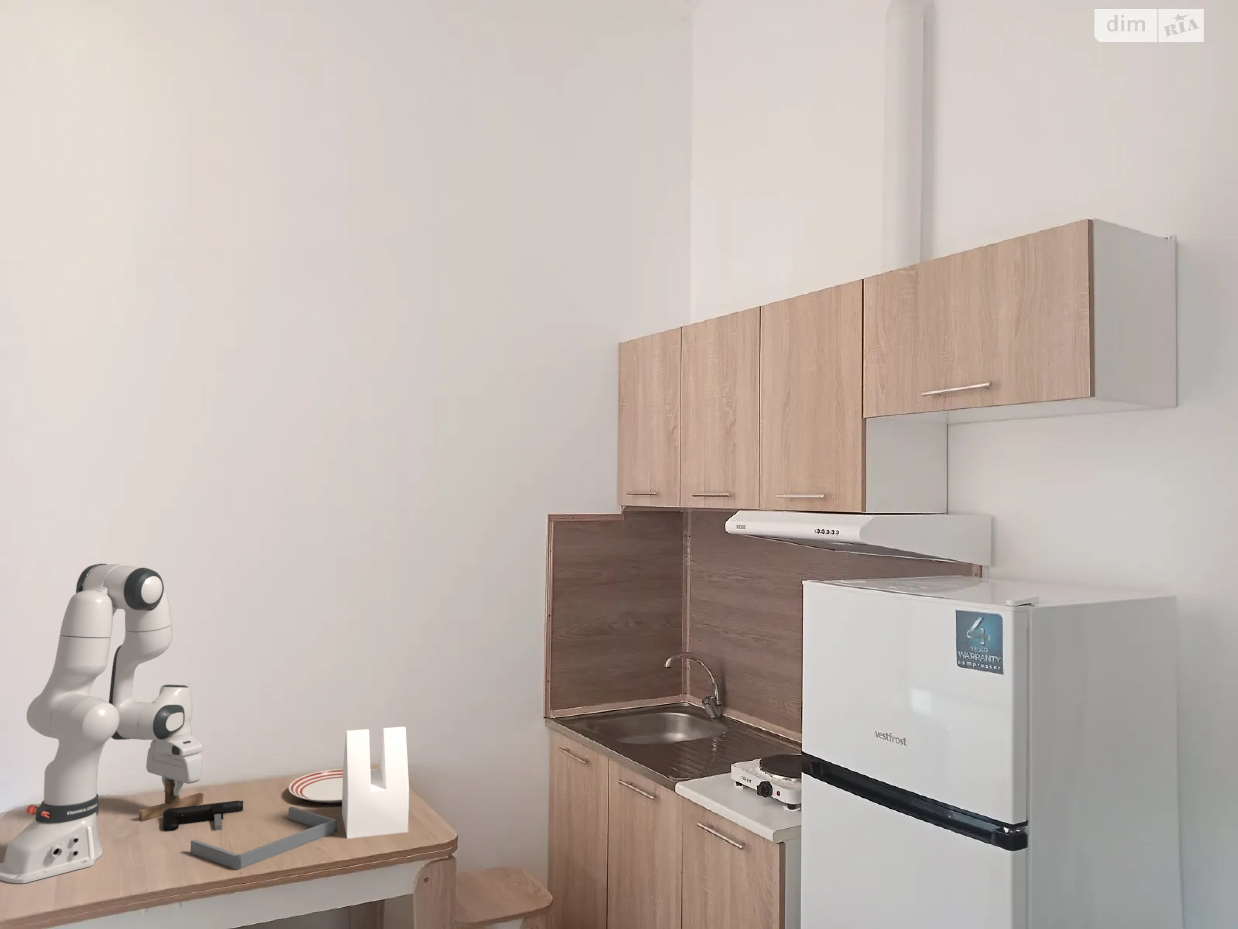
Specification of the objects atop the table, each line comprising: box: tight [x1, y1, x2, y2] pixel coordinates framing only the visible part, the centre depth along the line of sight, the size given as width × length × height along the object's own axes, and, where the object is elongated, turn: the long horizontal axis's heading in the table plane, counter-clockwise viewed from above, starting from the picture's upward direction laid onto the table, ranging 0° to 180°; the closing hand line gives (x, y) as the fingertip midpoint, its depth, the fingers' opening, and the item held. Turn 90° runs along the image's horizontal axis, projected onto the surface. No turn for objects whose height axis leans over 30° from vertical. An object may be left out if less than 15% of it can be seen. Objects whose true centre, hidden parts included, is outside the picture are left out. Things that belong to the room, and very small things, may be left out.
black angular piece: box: [162, 800, 244, 832], centre depth 253 cm, size 3×20×16 cm
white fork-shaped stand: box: [341, 726, 410, 840], centre depth 255 cm, size 19×15×25 cm
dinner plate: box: [288, 768, 343, 804], centre depth 278 cm, size 28×27×3 cm
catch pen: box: [190, 806, 339, 870], centre depth 239 cm, size 30×18×3 cm, turn 148°
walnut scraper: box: [138, 779, 204, 822], centre depth 260 cm, size 18×2×8 cm, turn 148°
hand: (172, 794), depth 260 cm, fingers closed on walnut scraper, 2 cm apart
